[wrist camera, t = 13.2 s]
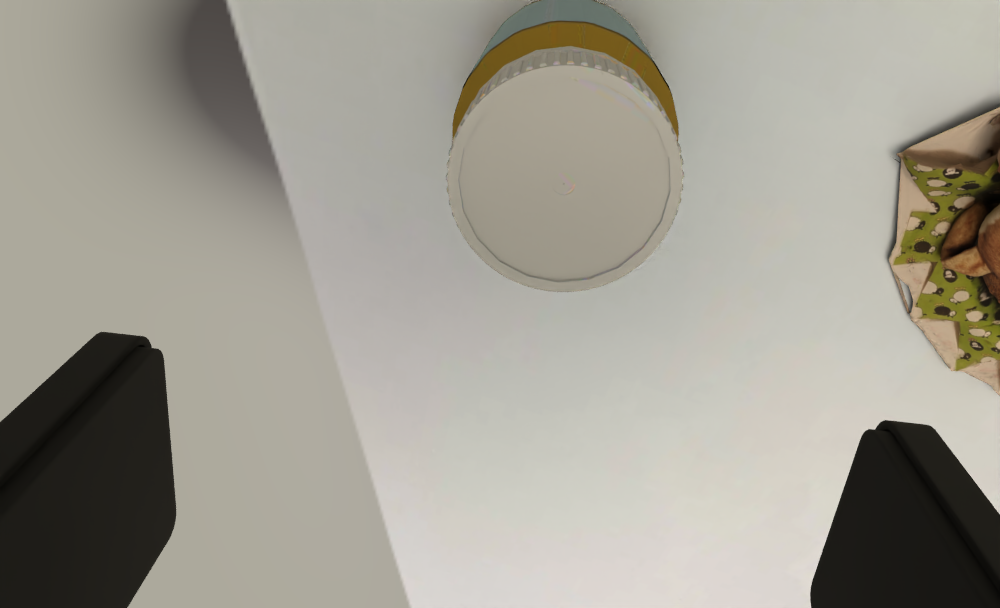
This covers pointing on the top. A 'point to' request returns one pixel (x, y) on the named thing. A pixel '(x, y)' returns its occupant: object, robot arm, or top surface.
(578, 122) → the bottle
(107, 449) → the robot arm
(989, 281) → the bear figurine
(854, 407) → the top surface
